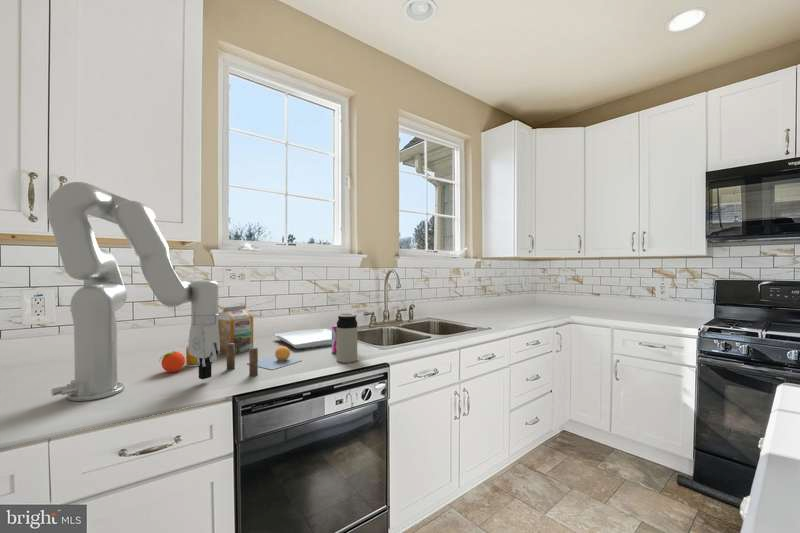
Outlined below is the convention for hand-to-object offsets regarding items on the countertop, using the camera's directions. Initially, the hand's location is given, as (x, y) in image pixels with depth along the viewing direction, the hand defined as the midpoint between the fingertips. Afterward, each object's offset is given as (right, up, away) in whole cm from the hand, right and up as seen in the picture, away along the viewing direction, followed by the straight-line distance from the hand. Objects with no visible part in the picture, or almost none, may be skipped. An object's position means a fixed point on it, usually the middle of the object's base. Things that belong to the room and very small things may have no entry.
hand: (205, 377), depth 115 cm
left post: (+1, -1, +14) cm, 15 cm away
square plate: (+19, -1, +58) cm, 62 cm away
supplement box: (+37, -1, +39) cm, 53 cm away
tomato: (-17, -1, +10) cm, 20 cm away
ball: (+16, +2, +25) cm, 30 cm away
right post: (+12, -2, +8) cm, 15 cm away
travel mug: (+41, -2, +27) cm, 49 cm away
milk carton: (-9, -1, +41) cm, 42 cm away
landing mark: (+14, -1, +23) cm, 27 cm away
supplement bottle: (-14, -1, +19) cm, 24 cm away
